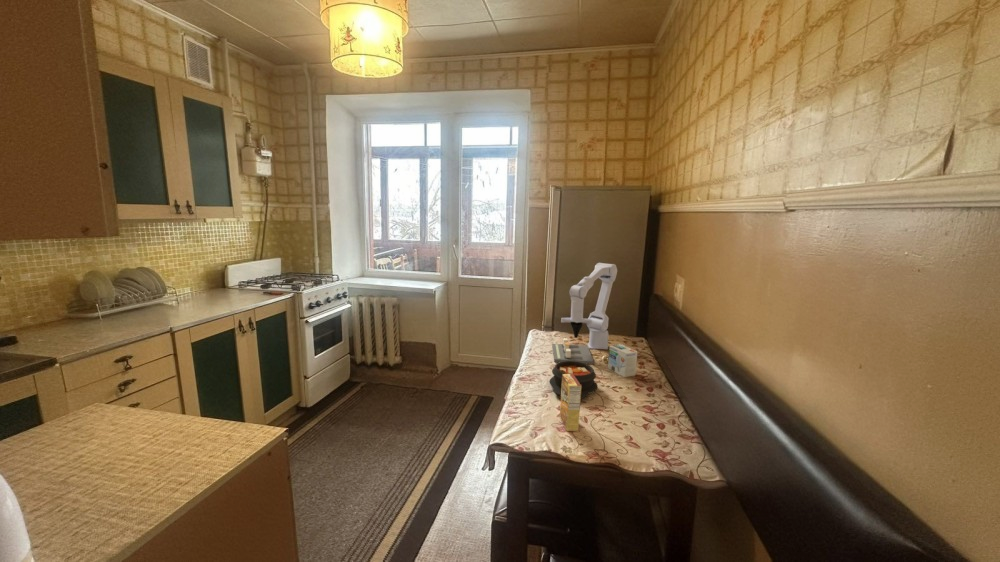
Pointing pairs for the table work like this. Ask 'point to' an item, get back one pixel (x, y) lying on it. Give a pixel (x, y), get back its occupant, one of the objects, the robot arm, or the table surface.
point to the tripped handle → (566, 346)
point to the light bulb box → (622, 360)
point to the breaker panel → (572, 353)
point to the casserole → (581, 373)
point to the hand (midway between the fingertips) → (575, 337)
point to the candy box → (570, 402)
